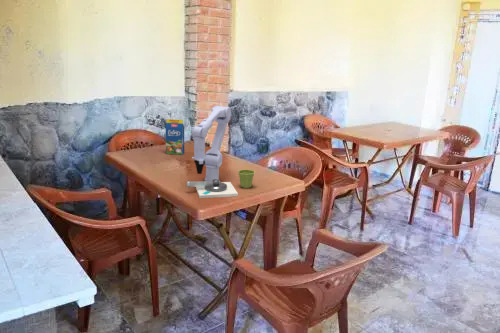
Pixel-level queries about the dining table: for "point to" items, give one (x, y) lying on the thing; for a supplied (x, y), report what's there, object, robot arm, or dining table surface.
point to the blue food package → (174, 137)
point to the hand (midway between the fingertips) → (199, 173)
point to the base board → (209, 194)
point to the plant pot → (246, 178)
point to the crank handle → (209, 185)
